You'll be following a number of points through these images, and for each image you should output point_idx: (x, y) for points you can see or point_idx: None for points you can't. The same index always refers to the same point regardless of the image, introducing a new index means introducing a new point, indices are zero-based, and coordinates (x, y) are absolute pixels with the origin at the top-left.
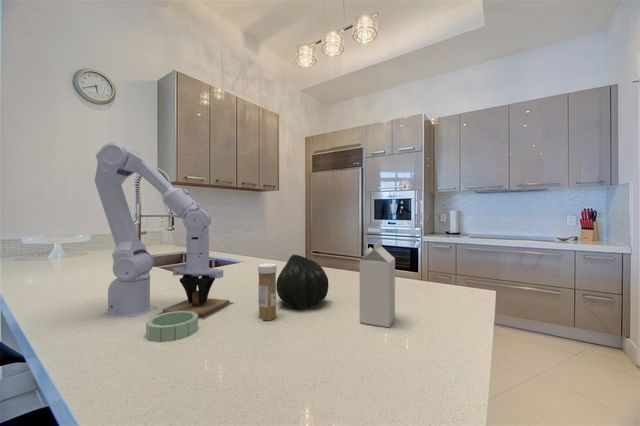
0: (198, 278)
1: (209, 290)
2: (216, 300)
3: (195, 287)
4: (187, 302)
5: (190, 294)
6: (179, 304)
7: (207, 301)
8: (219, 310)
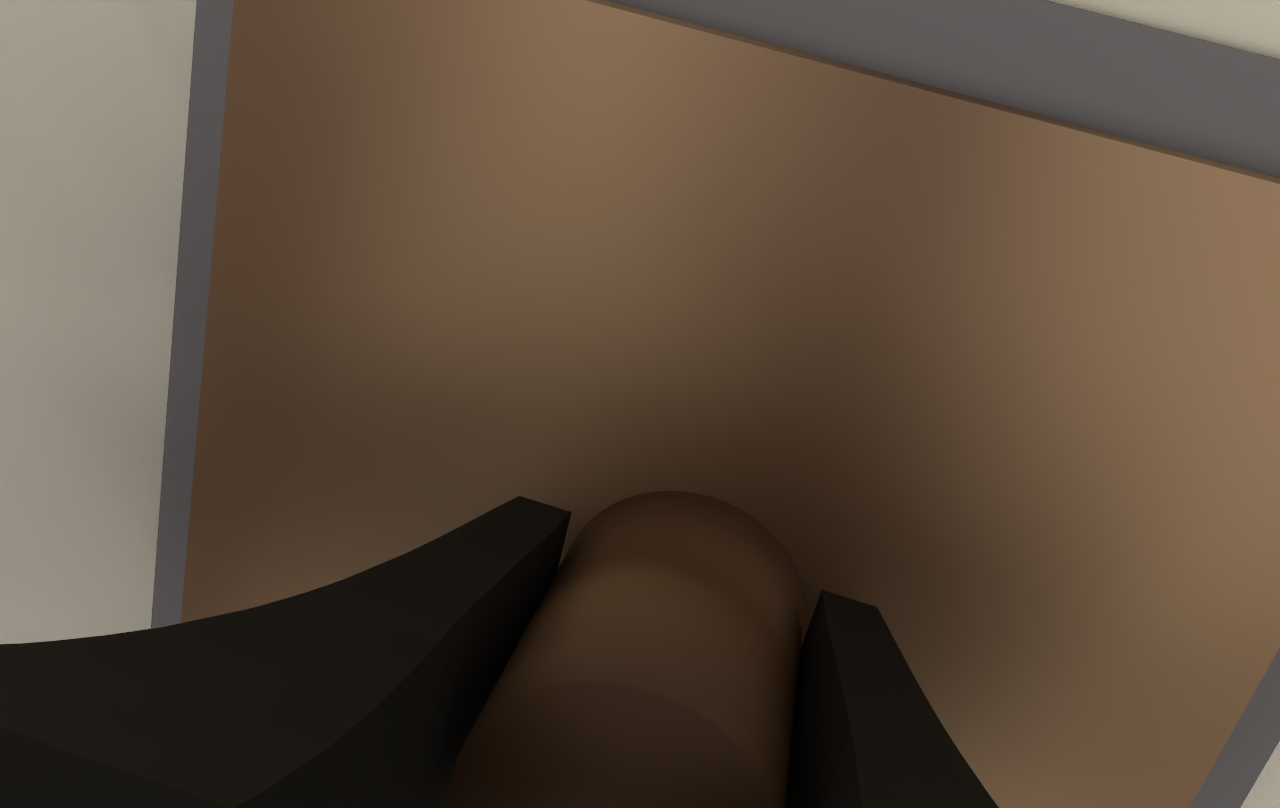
0: (296, 776)
1: (988, 803)
2: (1069, 273)
3: (419, 706)
4: (356, 419)
5: (447, 802)
6: (266, 551)
7: (829, 364)
8: (1252, 750)
